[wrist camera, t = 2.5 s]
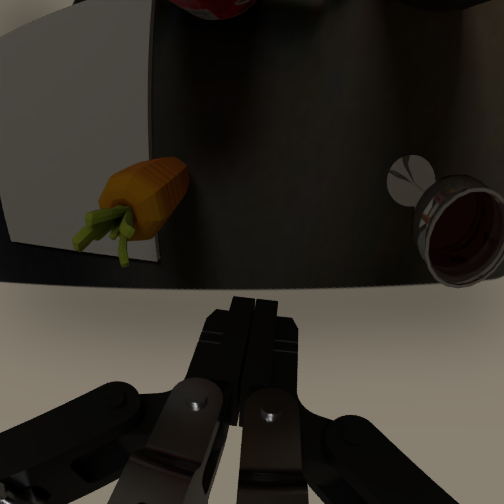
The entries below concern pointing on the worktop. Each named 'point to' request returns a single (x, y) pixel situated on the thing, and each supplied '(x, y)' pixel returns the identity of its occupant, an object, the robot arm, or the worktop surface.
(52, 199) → the rubber mat
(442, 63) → the worktop surface
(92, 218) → the carrot
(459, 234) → the wineglass
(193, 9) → the soda can
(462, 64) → the worktop surface
